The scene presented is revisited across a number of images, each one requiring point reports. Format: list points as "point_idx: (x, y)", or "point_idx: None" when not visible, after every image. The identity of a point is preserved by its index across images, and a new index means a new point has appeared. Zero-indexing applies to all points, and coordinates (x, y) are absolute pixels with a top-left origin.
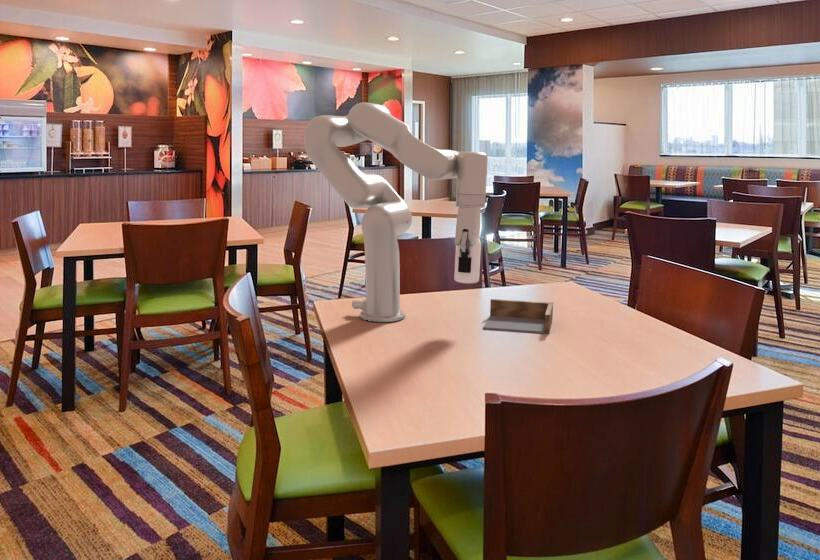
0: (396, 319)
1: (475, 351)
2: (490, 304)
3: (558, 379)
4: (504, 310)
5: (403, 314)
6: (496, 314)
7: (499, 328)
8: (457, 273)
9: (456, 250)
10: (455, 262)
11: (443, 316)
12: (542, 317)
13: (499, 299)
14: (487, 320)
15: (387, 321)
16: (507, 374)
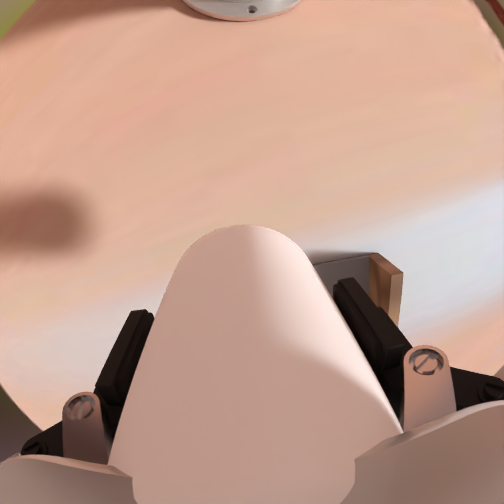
0: (207, 13)
1: (65, 311)
2: (384, 269)
3: (57, 416)
4: (376, 300)
5: (251, 14)
6: (371, 274)
7: None
8: (169, 283)
9: (143, 392)
10: (177, 297)
11: (332, 119)
12: None
13: (400, 297)
14: (314, 267)
15: (184, 2)
16: (26, 369)
